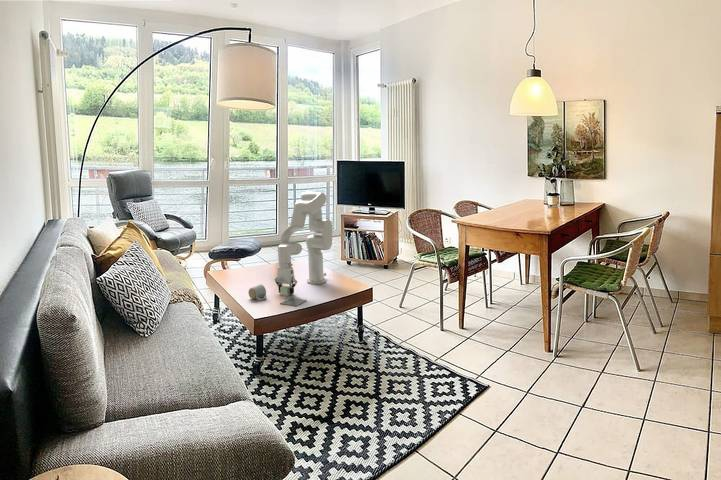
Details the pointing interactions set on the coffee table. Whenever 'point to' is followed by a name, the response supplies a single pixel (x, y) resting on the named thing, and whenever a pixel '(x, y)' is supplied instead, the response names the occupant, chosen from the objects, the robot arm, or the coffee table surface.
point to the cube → (285, 290)
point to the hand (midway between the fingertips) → (286, 292)
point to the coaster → (293, 302)
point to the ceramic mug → (257, 292)
